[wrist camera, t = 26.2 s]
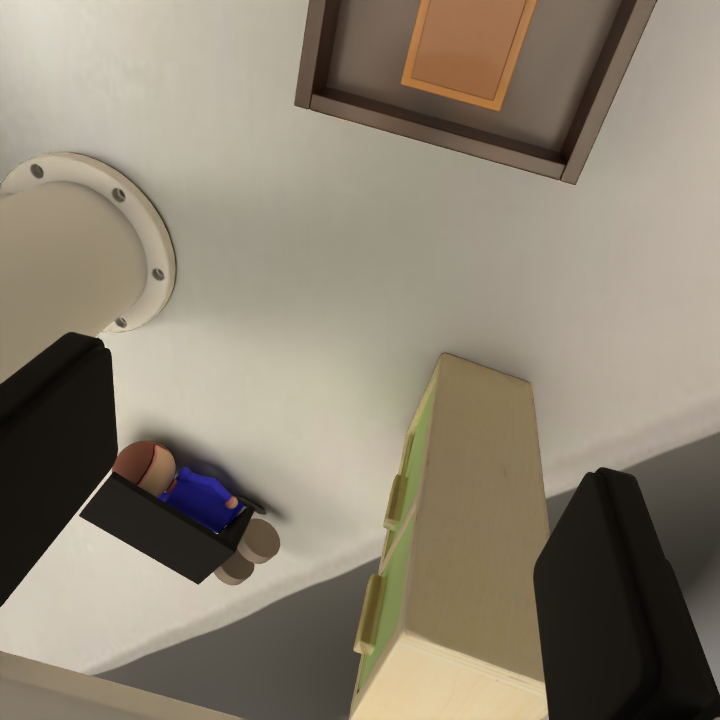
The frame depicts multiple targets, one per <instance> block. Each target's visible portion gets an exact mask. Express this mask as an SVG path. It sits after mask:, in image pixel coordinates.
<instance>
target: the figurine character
mask: <svg viewBox="0 0 720 720" xmlns="http://www.w3.org/2000/svg"><path fill="white" fill-rule="evenodd" d="M174 476H175V461H174V458H173V456H172V454H171V453H170V451H169V450H168V449H167V448H166V447H164V446H163V445H161V444H159V443H157V442H153V441H139V442H136V443H133V444H131V445H129V446H127V447H126V448H125V449H123V450H122V451H121V452H120V454H119V455H118V456H117V458H116V461H115V463H114V465H113V468H112V474H111V475H110V477H109V478H108V479H107V480H106V482H105V483H104V484H103V485H102V487H101V488H100V489H99V490H98V492H97V493H96V494H95V495H94V497H93V498H92V499H91V500H90V502H89V503H88V504H87V505H86V507H85V508H84V509H83V510H82V512H81V513H80V515H79V516H80V517H82V518H84V519H85V520H87V521H89V522H90V523H92V524H94V525H96V526H97V527H99V528H101V529H103V530H104V531H106V532H108V533H110V534H111V535H113V536H115V537H117V538H118V539H120V540H122V541H123V542H125V543H127V544H129V545H130V546H132V547H134V548H136V549H137V550H139V551H141V552H143V553H144V554H146V555H148V556H149V557H151V558H153V559H155V560H156V561H158V562H160V563H162V564H163V565H165V566H167V567H169V568H170V569H172V570H174V571H176V572H177V573H179V574H181V575H182V576H184V577H186V578H188V579H189V580H191V581H193V582H195V583H196V584H198V585H199V584H200V583H201V582H202V581H203V580H204V579H205V578H207V577H208V576H209V575H210V574H211V573H212V572H214V573H215V575H216V576H217V577H218V579H220V580H221V581H222V582H224V583H226V584H228V585H238V584H240V583H242V582H243V581H244V580H246V579H247V578H248V577H249V576H250V575H251V574H252V573H253V571H254V563H256V564H262V563H265V562H267V561H268V560H270V559H271V558H272V557H273V556H274V555H276V554H277V553H278V551H279V548H280V539H279V536H278V534H277V532H276V530H275V529H274V528H273V527H272V526H271V525H270V524H269V523H268V522H266V521H264V520H262V519H251V517H252V515H253V513H254V511H255V512H257V513H259V514H265V512H264V510H263V509H262V508H260V507H258V506H257V505H255V504H253V503H251V502H249V501H247V500H246V499H244V498H242V497H233V496H232V495H231V494H230V493H229V492H228V491H227V490H226V489H225V487H224V486H223V485H222V484H221V483H220V482H219V481H218V480H217V479H216V478H211V477H207V476H204V475H200V474H196V473H192V472H191V470H190V469H189V468H186V467H185V468H182V469H181V470H180V471H179V474H178V476H177V477H176V479H174ZM165 491H166V493H165ZM243 506H246V507H247V508H246V509H244V510H243V511H242V512H241V513H240V514H239V515H238V516H237V514H238V513H239V512H240V510H241V509H242V507H243ZM250 519H251V520H250ZM225 526H226V527H225ZM224 527H225V528H224ZM214 532H215V533H214ZM216 533H218V534H216Z"/></svg>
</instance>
